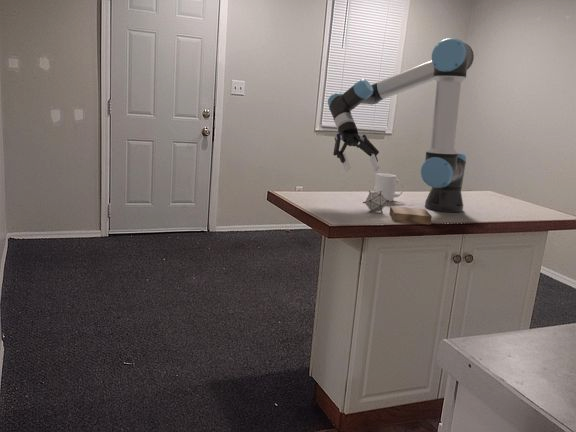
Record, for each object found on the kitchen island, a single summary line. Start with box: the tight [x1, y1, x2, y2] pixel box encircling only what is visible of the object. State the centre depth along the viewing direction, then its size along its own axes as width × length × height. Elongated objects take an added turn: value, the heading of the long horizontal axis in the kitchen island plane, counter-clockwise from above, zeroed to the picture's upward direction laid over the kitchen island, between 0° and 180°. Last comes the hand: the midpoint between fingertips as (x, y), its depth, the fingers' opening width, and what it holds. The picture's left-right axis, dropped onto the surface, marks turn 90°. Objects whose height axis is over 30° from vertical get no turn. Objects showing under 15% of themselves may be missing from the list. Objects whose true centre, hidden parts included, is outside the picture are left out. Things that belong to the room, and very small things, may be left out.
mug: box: [373, 172, 404, 202], centre depth 224 cm, size 9×12×11 cm
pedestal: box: [388, 205, 433, 225], centre depth 192 cm, size 13×12×3 cm
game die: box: [362, 190, 390, 214], centre depth 199 cm, size 9×8×10 cm
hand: (362, 169), depth 205 cm, fingers open, 13 cm apart
